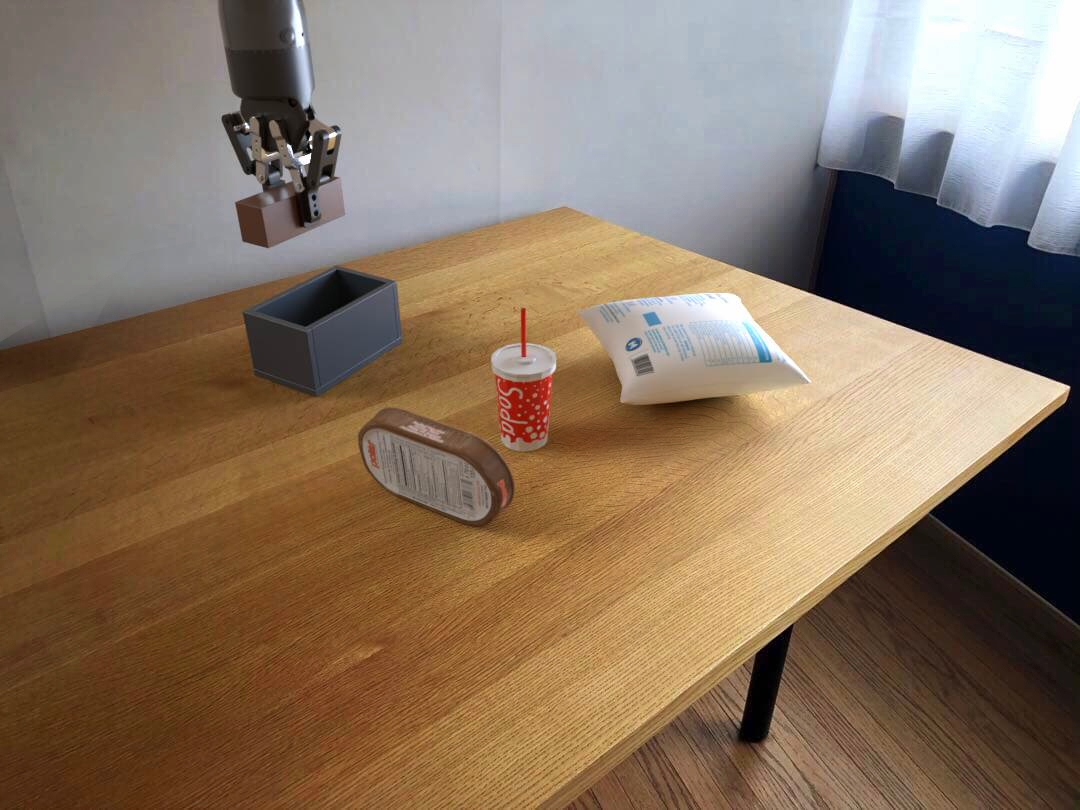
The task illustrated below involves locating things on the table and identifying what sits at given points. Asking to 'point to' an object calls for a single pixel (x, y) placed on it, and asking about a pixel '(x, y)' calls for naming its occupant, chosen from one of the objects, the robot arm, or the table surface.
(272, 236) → the brown block
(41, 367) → the table surface
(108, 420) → the table surface
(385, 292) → the bin
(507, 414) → the beverage cup
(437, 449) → the tin
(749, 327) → the pouch
